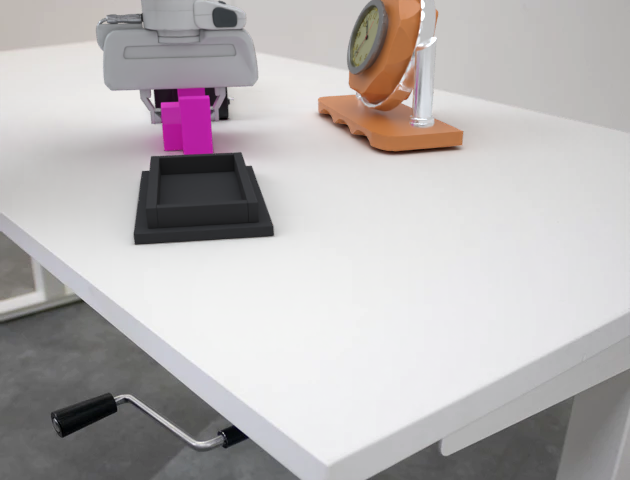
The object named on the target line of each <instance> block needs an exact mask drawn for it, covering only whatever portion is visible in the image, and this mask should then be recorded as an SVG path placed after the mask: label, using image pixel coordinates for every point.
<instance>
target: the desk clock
mask: <svg viewBox="0 0 630 480" xmlns="http://www.w3.org/2000/svg"><path fill="white" fill-rule="evenodd" d="M435 3H436V2H435V0H370V1H368V2H367V3H366V4H365V6H364V7H363V8H362V10H361V12H360V13H359V15H358V16H357V18H356V21H355V23H354V26H353V28H352V31H351V34H350V37H349V41H348V45H347V51H346V66H347V69H348V86H349V88H350V89H351V90H352V91H355V94H342V95H328V96H326V95H325V96H320V97H318V98H317V111H318V114H322V115H324V114H325V115H330V117H331V119H332V121H333V123H334V124H339V125H346V126H347V127H348V129H349V132H350V134H351V135H357V136H365V137H366V138H367V140H368V142H369V145H370V146H371V147H373V148H376V149H378V150H381V151H382V150H383V151H387V152H394V153H395V152H403V151H413V150H423V149H424V150H427V149H436V148H449V147H459V146H463V140H464V131H463V130H461V129H459V128H458V127H455V126H452V125H450V124H448V123H447V122H444V121H442V120H440V119H437V118H435V116H433V104H434V103H433V102H434V90H435V89H434V88H435V87H434V85H435V72H436V55H437V41H438V39H437V38H438V37H437V36H435V33H436V27H437V23H438V18H439V10H438V9H437V8H436V4H435ZM411 94H412V107H411V106H409V105H407V104H404V103H403V102H404V101H407V100H408V99H409V98H410V97H411Z"/></svg>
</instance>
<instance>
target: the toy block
mask: <svg viewBox="0 0 630 480" xmlns="http://www.w3.org/2000/svg"><path fill="white" fill-rule="evenodd" d="M177 90H178V102H163V103H161V111H162V123H161V130H162V139H163V140H162V141H163V149H164V152H170V151H171V152H172V151H183V155H189V154H211V153H214V146H213V131H212V129H213V128H212V121H211V113H210V98H209V95H207V96H205V88H182V89H177Z"/></svg>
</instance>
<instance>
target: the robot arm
mask: <svg viewBox="0 0 630 480" xmlns="http://www.w3.org/2000/svg"><path fill="white" fill-rule="evenodd" d="M140 4H141V5H140V6H141V13H128V14H116V13H113V14H106V16H105V17H104V18H102V19H100V20H99V21H98V22H97V24H96V26H95V34H96V42H97V45H98V47H99V48H100V50H101V51H102V53H103V54H102V69H103V70H102V73H103V74H102V75H103V83H104V85H105V86H106V87H107V89H108V90H109V91H112V92H117V91H119V92H120V91H122V92H123V91H139V97H140V100H141V102H142V103H143V104H144V106H145V107H146V109H147V110H148V112H149V113H150V114H149V115H150V123H151V125H156V124H157V125H159V124H162V111H161V108H155V105H154V104H153V102H152V101H151V97H152V91H153V90H154V89H182V88H212V87H214V90H215V95H216V96H217V98H216V100H215V103H214V105H213V106H210V113H211V122H220V118H219V111H218V108H220V106H221V104H222V102H223V100H224V98H225V96H226V91H225V87H227V88H238V87H239V88H242V87H254V86H255V84H256V83H257V82H258V80H259V65H258V58H257V52H256V47H255V44H254V40H253V38H252V36H251V35H250V33H249V32H248V30H246V29H245V27H246V24H247V14H246V12H245V11H244V9H242V8H240V7H238V6H235V5H232V4H229V3H227V2H225V1H223V0H140ZM105 22H106V23H105Z"/></svg>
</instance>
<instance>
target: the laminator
mask: <svg viewBox="0 0 630 480" xmlns="http://www.w3.org/2000/svg"><path fill="white" fill-rule="evenodd" d="M225 91H226V96H225V98H224V100H223V102H222V104H221V106H220V108H218V111H219V119H229V118H230V117H229V114H230V113H229V105H231V101H234V100H235V98H234V97H233V96H229V95H228V87H225ZM207 95H209V98H210V106H213V105H214V103H215V100H216V98H217V96H216V95H215V90H214V87H212V88H205V96H207ZM153 99H154V107H155V108H161V103H163V102H178V90H177V89H153Z"/></svg>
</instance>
